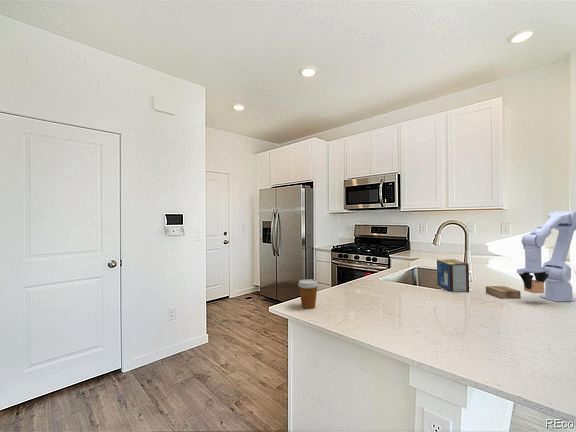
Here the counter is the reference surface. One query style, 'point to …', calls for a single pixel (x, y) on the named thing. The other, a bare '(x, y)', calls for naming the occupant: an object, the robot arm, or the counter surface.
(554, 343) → the counter surface
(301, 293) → the disposable coffee cup
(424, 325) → the counter surface
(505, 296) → the walnut base
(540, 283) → the terracotta block
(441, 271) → the protein box
